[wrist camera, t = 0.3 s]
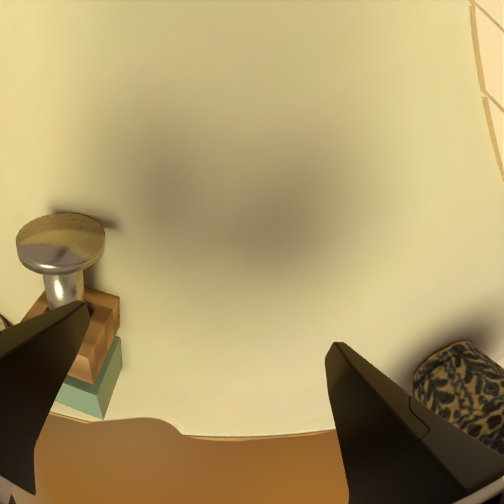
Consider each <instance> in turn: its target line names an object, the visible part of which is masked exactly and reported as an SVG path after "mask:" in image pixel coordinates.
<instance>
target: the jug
mask: <svg viewBox="0 0 504 504" xmlns="http://www.w3.org/2000/svg"><path fill="white" fill-rule="evenodd" d="M413 397H414V398H415V399H417V400H418V401H419V402H421V403H422V404H423V405H425V406H426V407H427V408H429V409H430V410H432V411H433V412H435V413H436V414H437V415H439V416H441V417H442V418H444V419H445V420H447V421H448V422H450V423H451V424H453V425H454V426H456V427H458V428H459V429H461V430H462V431H464V432H465V433H467V434H469V435H470V436H472V437H473V438H475V439H476V440H478V441H480V442H481V443H483V444H484V445H486V446H488V447H489V448H491V449H493V450H494V451H496V452H497V453H499V454H501V455H504V369H503V368H502V367H501V366H499V365H498V364H497V363H495V362H494V361H492V360H491V359H490V358H488V357H487V356H486V355H485V354H483V353H482V352H481V351H480V350H479V349H478V348H477V347H476V346H475V345H474V344H473V343H472V342H471V341H463V342H457V343H455V344H452V345H451V346H449V347H448V348H445V349H444V350H442V351H439V352H437V353H436V354H434V355H432V356H431V357H429V358H428V359H427V361H426V362H425V363H424V364H423V365H422V366H421V367H420V368H419V369H418V370H417V372H416V373H415V375H414V377H413ZM503 480H504V476H503Z"/></svg>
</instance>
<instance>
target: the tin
mask: <svg viewBox="0 0 504 504" xmlns="http://www.w3.org/2000/svg"><path fill="white" fill-rule="evenodd" d="M6 328H8V326H7V324H6V322H5V320H4V319H3V317H2V316H1V315H0V331H2V330H4V329H6Z"/></svg>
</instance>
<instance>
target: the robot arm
mask: <svg viewBox="0 0 504 504" xmlns="http://www.w3.org/2000/svg"><path fill="white" fill-rule="evenodd" d="M89 324H90V316H89V312H88V307H87V304H86V303H85V302H83V301H79V300H75V301H73V302H70V303H68V304H65V305H63V306H60V307H58V308H55V309H53V310H50V311H48V312H45V313H43V314H40V315H38V316H35V317H33V318H31V319H28V320H26V321H23V322H21V323H18V324H16V325H13V326H11V327H9V328H6V329H4V330H2V331H0V504H16V503H15V500H14V498H13V496H12V494H11V493H12V489H13V486H14V484H15V485H16V486H18V487H20V488H21V489H23V490H25V491H27V492H29V493H30V494H32V495H34V496H35V494H36V490H35V475H34V448H35V444H36V440H37V439H38V437H39V434H40V432H41V430H42V427H43V425H44V423H45V420H46V418H47V416H48V414H49V411H50V409H51V407H52V405H53V403H54V401H55V399H56V396H57V394H58V392H59V390H60V388H61V386H62V384H63V382H64V380H65V378H66V376H67V374H68V372H69V370H70V368H71V366H72V364H73V363H74V361H75V359H76V357H77V355H78V352H79V350H80V347H81V345H82V342H83V340H84V337H85V335H86V332H87V330H88V327H89ZM325 369H326V378H327V388H328V395H329V400H330V404H331V408H332V413H333V417H334V422H335V426H336V430H337V435H338V440H339V444H340V449H341V454H342V459H343V463H344V469H345V474H346V478H347V484H348V487H349V503H348V504H504V480H503V476H504V455H501V454H499V453H497V452H496V451H494V450H493V449H491V448H489V447H488V446H486V445H484V444H483V443H481V442H480V441H478V440H476V439H475V438H473V437H472V436H470V435H469V434H467V433H465V432H464V431H462V430H461V429H459V428H458V427H456V426H454V425H453V424H451V423H450V422H448V421H447V420H445V419H444V418H442V417H441V416H439V415H437V414H436V413H435V412H433V411H432V410H430V409H429V408H427V407H426V406H425V405H423V404H422V403H421V402H419V401H418V400H417V399H415V398H414V397H413V396H412V395H409V394H408V393H407V392H406V391H405V390H403V389H402V388H401V387H400V386H398V385H397V384H396V383H394V382H393V381H392V380H391V379H389V378H388V377H387V376H386V375H384V374H383V373H382V372H381V371H379V370H378V369H377V368H376V367H374V366H373V365H372V364H371V363H369V362H368V361H367V360H366V359H364V358H363V357H362V356H361V355H359V354H358V353H357V352H356V351H354V350H353V349H352V348H351V347H349V346H348V345H347V344H346V343H344V342H334V343H333V344H332V345H331V347H330V349H329V351H328V353H327V355H326V357H325Z"/></svg>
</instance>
